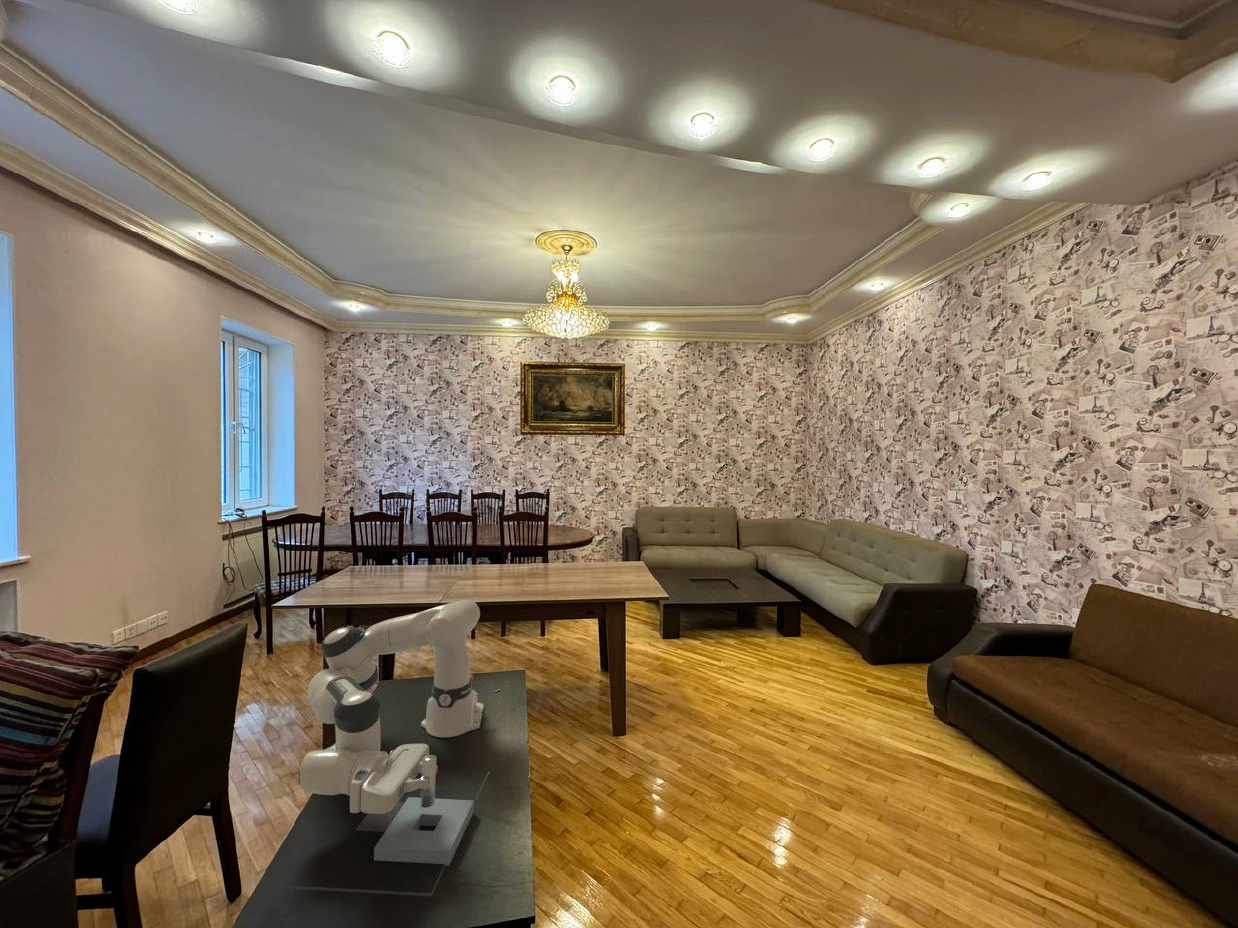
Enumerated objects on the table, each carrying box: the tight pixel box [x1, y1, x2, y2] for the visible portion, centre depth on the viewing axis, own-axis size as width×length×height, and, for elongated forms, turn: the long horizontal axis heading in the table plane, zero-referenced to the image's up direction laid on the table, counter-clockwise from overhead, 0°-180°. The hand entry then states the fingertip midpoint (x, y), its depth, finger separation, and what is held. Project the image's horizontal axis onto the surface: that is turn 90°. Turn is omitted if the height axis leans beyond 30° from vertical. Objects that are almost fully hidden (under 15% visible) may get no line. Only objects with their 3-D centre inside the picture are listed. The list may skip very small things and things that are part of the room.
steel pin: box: [420, 754, 437, 808], centre depth 111 cm, size 3×3×10 cm
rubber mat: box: [355, 801, 406, 833], centre depth 116 cm, size 10×7×1 cm
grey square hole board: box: [373, 796, 475, 867], centre depth 111 cm, size 16×16×3 cm
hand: (432, 776), depth 111 cm, fingers closed on steel pin, 3 cm apart
